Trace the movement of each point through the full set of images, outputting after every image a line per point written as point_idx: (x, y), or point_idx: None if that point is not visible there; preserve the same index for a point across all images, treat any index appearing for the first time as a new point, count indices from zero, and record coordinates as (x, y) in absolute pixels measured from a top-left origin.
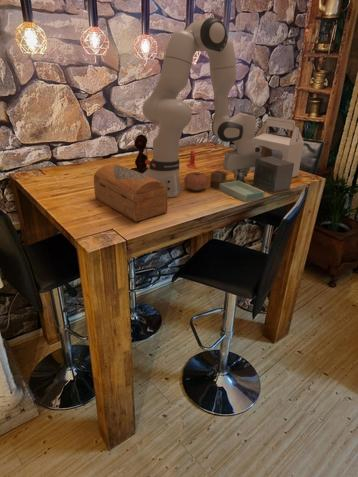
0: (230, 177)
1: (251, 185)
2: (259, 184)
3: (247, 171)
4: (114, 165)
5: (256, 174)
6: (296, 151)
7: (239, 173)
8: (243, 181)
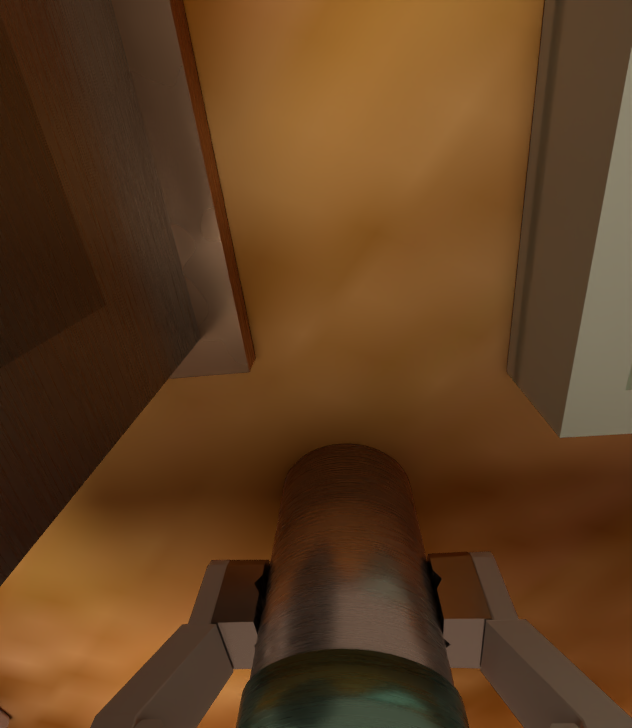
0: None
1: (245, 315)
2: (122, 119)
3: (178, 669)
4: None
5: (38, 338)
6: None
7: (436, 645)
8: (320, 470)
